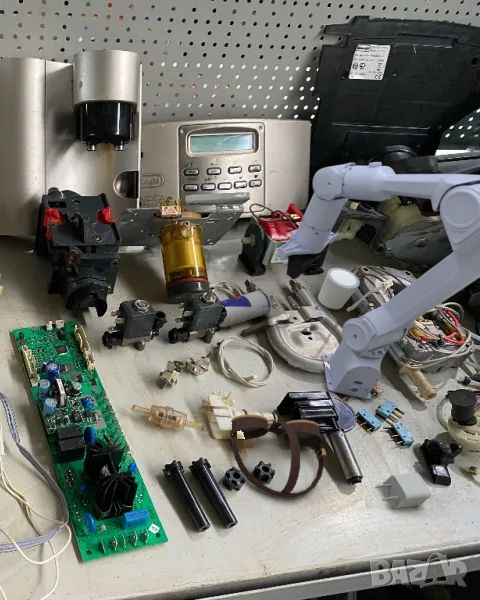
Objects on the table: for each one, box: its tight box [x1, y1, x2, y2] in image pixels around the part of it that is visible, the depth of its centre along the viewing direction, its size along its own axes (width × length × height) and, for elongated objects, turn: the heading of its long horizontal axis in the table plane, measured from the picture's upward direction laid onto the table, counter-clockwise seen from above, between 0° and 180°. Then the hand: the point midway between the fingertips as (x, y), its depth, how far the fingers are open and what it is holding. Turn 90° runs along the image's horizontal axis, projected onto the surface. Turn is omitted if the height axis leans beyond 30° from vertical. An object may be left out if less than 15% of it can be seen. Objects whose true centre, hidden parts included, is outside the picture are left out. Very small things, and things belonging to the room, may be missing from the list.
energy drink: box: [219, 289, 273, 328], centre depth 111 cm, size 5×5×12 cm
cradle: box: [240, 288, 284, 339], centre depth 113 cm, size 13×9×2 cm
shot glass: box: [317, 267, 361, 310], centre depth 117 cm, size 7×7×7 cm
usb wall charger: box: [374, 472, 432, 509], centre depth 83 cm, size 4×7×4 cm, turn 99°
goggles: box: [229, 413, 327, 499], centre depth 84 cm, size 15×13×10 cm
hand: (291, 275), depth 111 cm, fingers closed
